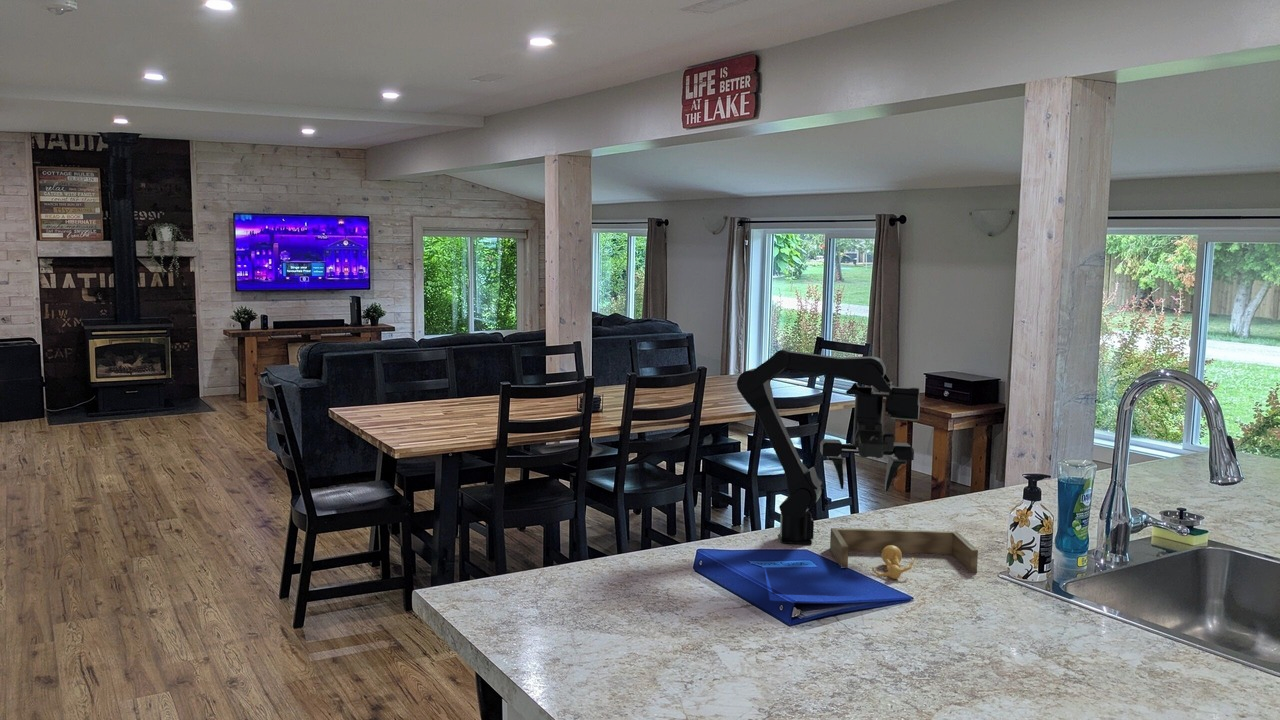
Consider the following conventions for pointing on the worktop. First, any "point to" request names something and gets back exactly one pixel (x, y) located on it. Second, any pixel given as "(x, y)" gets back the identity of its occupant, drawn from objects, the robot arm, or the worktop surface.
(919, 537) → the three-sided wooden wall
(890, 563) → the figurine
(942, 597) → the worktop surface
